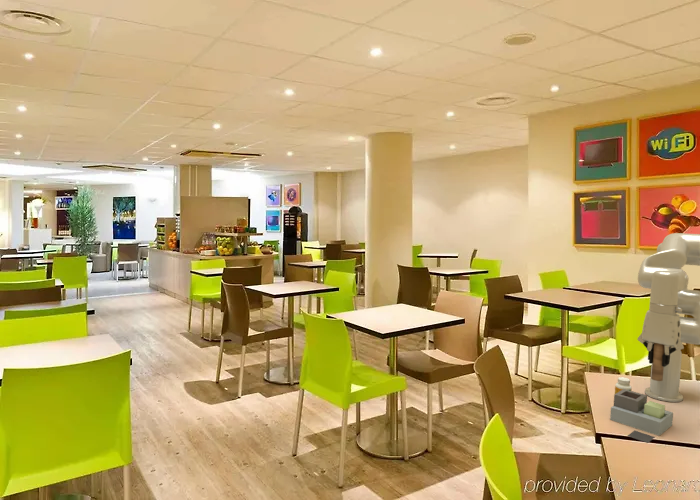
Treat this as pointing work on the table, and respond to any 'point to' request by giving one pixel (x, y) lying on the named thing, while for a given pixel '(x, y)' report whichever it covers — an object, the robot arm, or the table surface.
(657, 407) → the on button
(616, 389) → the supplement bottle
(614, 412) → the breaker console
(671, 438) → the table surface
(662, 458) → the table surface
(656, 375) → the brown wooden cylinder
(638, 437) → the pad
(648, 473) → the table surface
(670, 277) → the robot arm
